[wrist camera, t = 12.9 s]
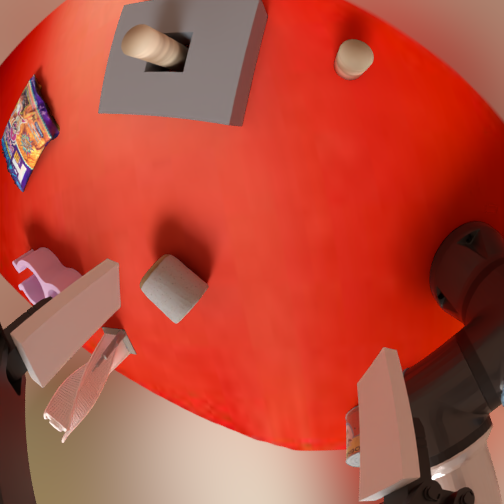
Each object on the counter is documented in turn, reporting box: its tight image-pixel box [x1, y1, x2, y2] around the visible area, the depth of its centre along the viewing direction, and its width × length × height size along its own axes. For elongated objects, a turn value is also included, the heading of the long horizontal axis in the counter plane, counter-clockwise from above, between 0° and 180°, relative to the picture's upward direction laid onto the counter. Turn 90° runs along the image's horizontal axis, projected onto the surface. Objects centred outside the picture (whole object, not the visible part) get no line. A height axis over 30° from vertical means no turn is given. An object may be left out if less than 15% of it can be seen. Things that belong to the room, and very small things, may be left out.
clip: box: [13, 247, 82, 305], centre depth 47 cm, size 20×12×7 cm, turn 78°
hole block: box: [98, 0, 268, 126], centre depth 26 cm, size 18×16×6 cm
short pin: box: [334, 39, 374, 80], centre depth 23 cm, size 4×4×6 cm
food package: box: [1, 74, 60, 192], centre depth 36 cm, size 22×25×4 cm
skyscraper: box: [44, 327, 136, 443], centre depth 42 cm, size 8×8×28 cm
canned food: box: [346, 405, 360, 467], centre depth 44 cm, size 11×11×12 cm
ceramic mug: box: [140, 254, 208, 323], centre depth 40 cm, size 11×8×8 cm
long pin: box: [121, 24, 189, 72], centre depth 23 cm, size 4×4×12 cm
